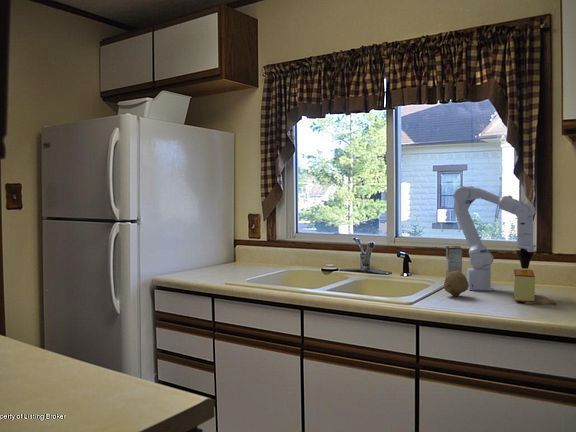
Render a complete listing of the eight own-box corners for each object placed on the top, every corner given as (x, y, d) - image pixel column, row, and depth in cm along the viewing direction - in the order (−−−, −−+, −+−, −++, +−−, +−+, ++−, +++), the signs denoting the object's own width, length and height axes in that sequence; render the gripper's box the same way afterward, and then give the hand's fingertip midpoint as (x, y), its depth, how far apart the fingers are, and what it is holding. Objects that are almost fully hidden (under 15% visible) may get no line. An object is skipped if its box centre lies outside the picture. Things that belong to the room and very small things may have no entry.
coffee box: (445, 280, 236) (445, 245, 236) (459, 280, 235) (459, 245, 234) (447, 283, 227) (447, 247, 227) (462, 283, 226) (462, 247, 225)
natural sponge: (473, 296, 198) (473, 270, 197) (461, 299, 192) (461, 273, 192) (452, 293, 205) (452, 268, 204) (440, 296, 199) (440, 270, 198)
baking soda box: (532, 294, 196) (534, 302, 182) (513, 293, 199) (514, 301, 184) (532, 269, 196) (534, 276, 181) (513, 269, 199) (514, 275, 184)
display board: (526, 304, 182) (526, 302, 182) (514, 296, 196) (514, 294, 196) (556, 304, 181) (556, 302, 181) (542, 297, 195) (542, 295, 195)
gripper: (542, 235, 191) (542, 271, 192) (529, 232, 206) (529, 265, 206) (522, 235, 192) (522, 271, 193) (511, 232, 207) (511, 265, 207)
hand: (524, 268), depth 200 cm, fingers closed
